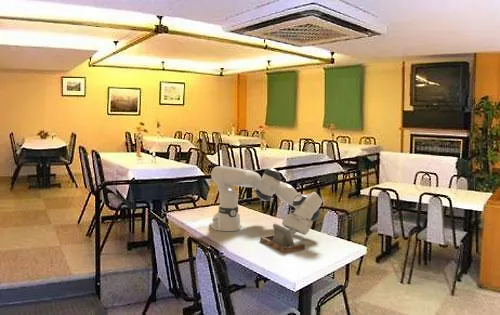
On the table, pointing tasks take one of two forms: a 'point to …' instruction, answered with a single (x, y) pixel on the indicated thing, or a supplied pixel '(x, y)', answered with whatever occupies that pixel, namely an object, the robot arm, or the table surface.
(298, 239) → the table surface
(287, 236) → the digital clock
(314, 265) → the table surface
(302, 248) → the frame
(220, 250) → the table surface
